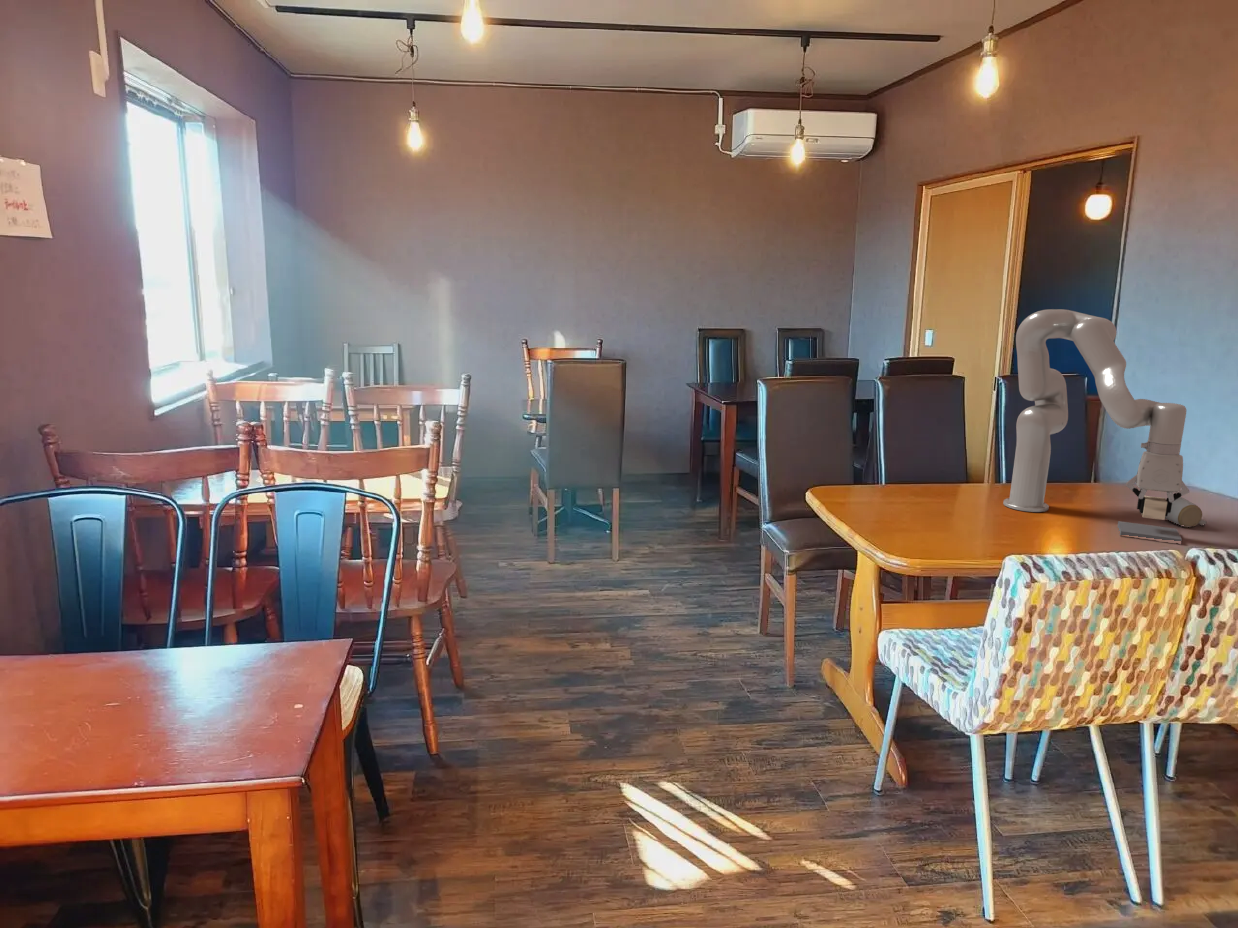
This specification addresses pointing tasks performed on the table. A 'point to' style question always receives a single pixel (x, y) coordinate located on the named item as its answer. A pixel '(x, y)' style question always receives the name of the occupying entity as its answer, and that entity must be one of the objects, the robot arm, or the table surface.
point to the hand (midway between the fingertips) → (1153, 512)
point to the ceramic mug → (1185, 513)
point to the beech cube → (1154, 508)
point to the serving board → (1148, 531)
